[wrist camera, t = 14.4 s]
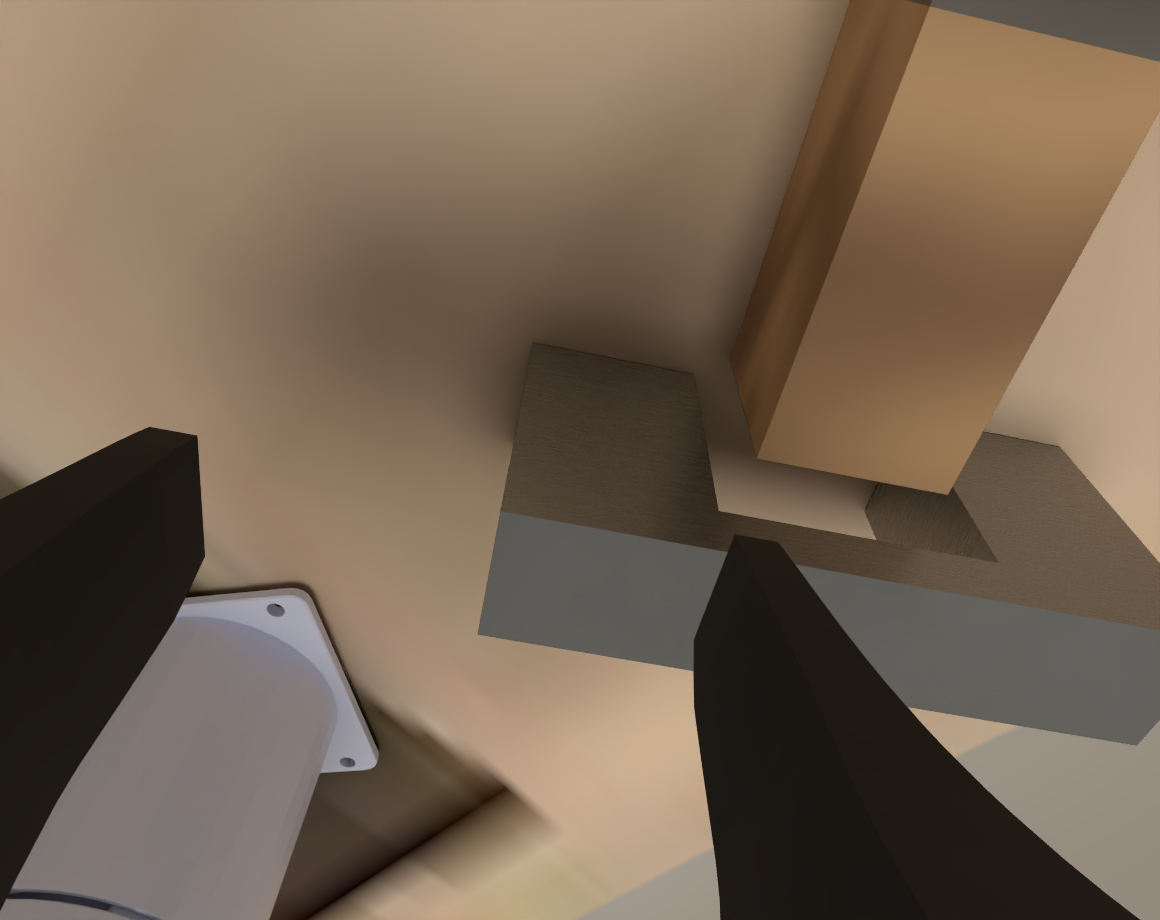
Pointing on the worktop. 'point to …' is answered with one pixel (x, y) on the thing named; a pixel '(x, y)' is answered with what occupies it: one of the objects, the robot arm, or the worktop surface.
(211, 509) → the worktop surface
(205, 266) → the worktop surface
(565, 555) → the u-shaped slotted block
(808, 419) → the bar
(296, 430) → the worktop surface
